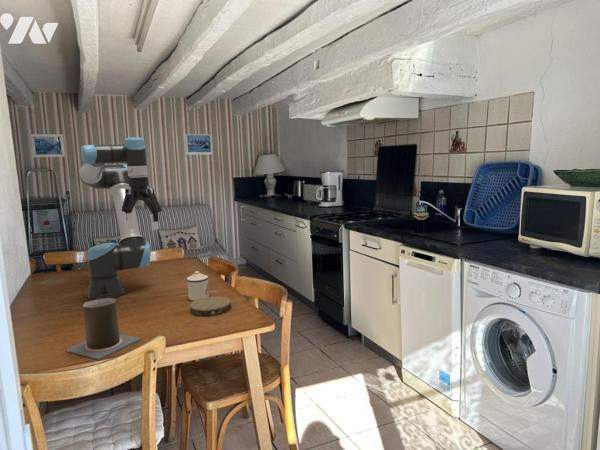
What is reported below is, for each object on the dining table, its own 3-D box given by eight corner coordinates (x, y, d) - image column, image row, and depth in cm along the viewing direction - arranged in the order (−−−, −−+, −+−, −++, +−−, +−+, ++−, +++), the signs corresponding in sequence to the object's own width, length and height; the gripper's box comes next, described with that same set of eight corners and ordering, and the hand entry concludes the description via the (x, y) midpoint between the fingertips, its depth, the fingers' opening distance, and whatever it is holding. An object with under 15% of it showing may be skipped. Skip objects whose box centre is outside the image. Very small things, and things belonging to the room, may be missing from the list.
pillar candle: (111, 349, 134) (107, 302, 132) (80, 350, 134) (75, 303, 132) (124, 337, 143) (120, 293, 141) (96, 338, 144) (91, 294, 142)
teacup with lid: (211, 299, 183) (209, 272, 181) (189, 302, 180) (187, 275, 178) (207, 292, 194) (205, 266, 192) (186, 294, 191) (184, 269, 189)
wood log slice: (187, 307, 174) (186, 300, 173) (226, 301, 180) (225, 294, 180) (194, 320, 159) (193, 312, 159) (236, 312, 165) (235, 305, 165)
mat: (65, 351, 135) (64, 349, 135) (108, 333, 149) (108, 331, 149) (98, 360, 128) (98, 358, 128) (141, 340, 142) (141, 338, 142)
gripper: (109, 178, 175) (114, 229, 178) (153, 176, 163) (158, 231, 166) (124, 177, 182) (129, 226, 184) (167, 175, 170) (172, 228, 173)
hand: (143, 229), depth 175 cm, fingers open, 13 cm apart
